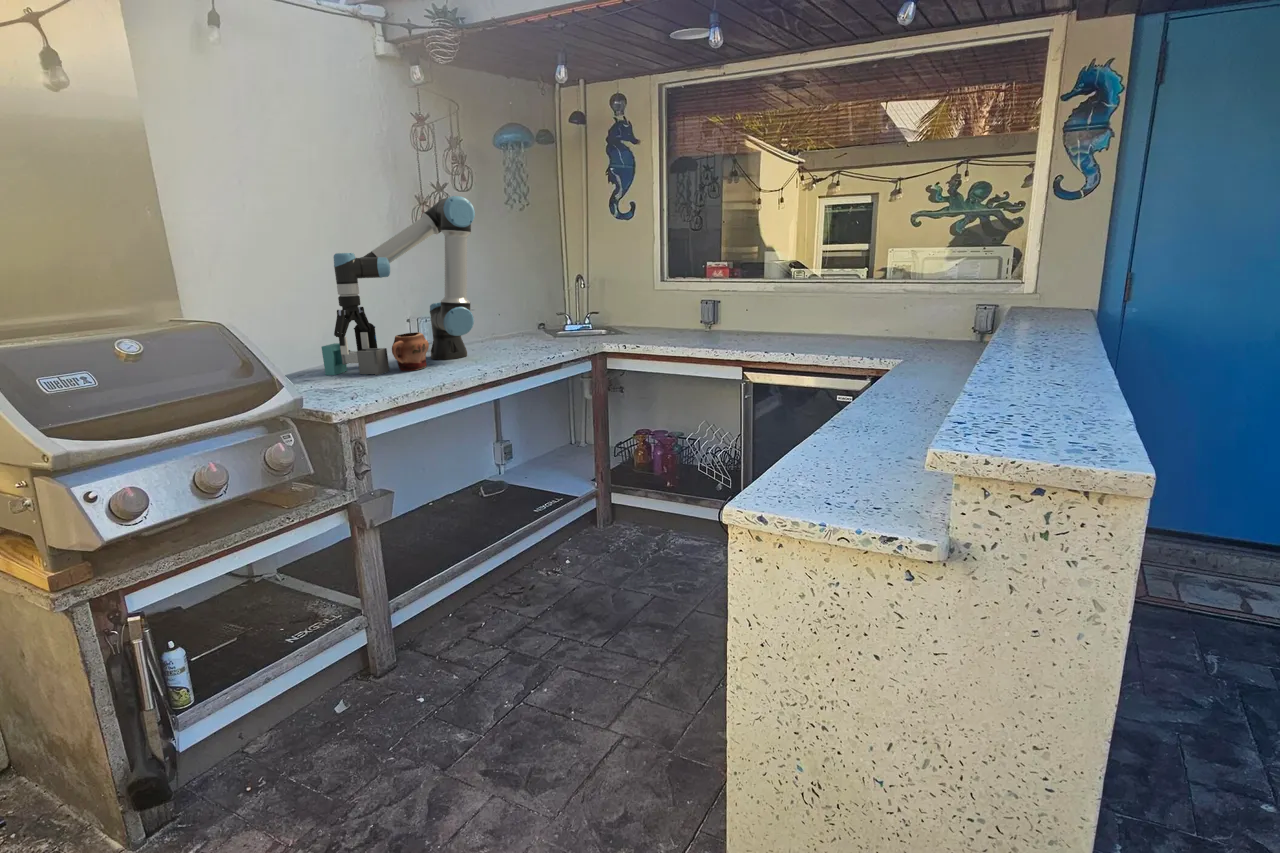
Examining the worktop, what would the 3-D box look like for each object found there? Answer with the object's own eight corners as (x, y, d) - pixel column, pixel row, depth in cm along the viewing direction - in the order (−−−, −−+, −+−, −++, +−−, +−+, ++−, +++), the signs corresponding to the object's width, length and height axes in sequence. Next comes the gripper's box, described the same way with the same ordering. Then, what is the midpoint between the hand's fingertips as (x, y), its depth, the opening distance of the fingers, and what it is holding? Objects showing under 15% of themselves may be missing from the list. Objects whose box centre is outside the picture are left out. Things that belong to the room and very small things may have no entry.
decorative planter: (412, 374, 272) (407, 337, 268) (383, 374, 274) (378, 337, 271) (438, 365, 290) (434, 330, 287) (410, 365, 293) (406, 330, 290)
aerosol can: (368, 368, 289) (361, 318, 284) (354, 367, 293) (347, 317, 288) (384, 365, 295) (378, 315, 290) (371, 364, 300) (364, 315, 295)
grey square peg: (383, 362, 279) (382, 349, 278) (376, 364, 274) (375, 351, 273) (350, 362, 282) (348, 350, 281) (342, 364, 277) (340, 352, 276)
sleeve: (389, 371, 281) (386, 348, 279) (379, 375, 274) (375, 351, 272) (370, 371, 283) (367, 348, 280) (360, 375, 276) (356, 351, 273)
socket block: (347, 371, 285) (343, 343, 282) (334, 375, 278) (330, 346, 275) (338, 371, 286) (334, 343, 283) (325, 375, 278) (321, 346, 276)
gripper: (359, 292, 285) (365, 347, 290) (318, 298, 261) (326, 356, 266) (376, 292, 283) (382, 347, 288) (337, 297, 259) (345, 356, 265)
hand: (355, 351), depth 277 cm, fingers open, 13 cm apart
